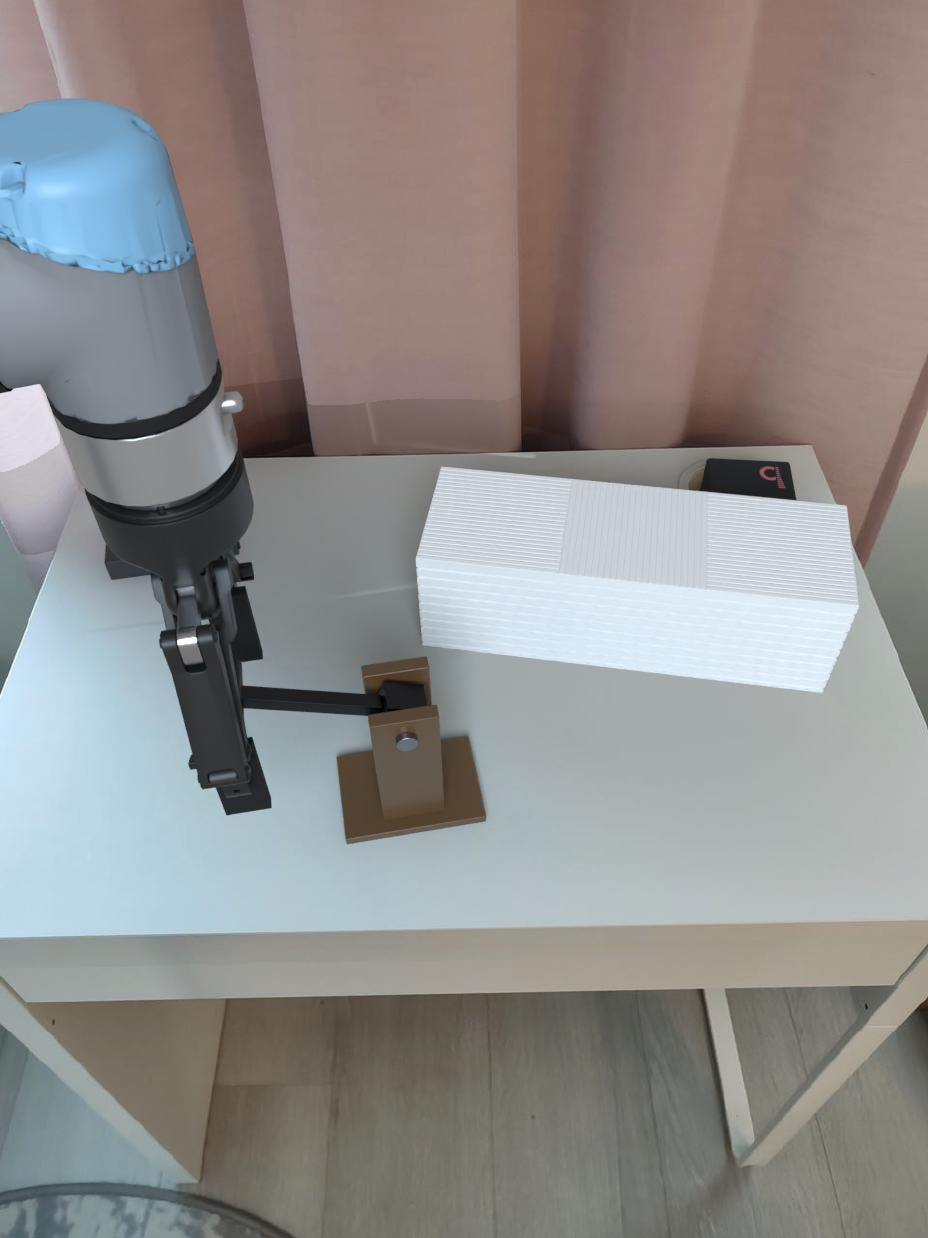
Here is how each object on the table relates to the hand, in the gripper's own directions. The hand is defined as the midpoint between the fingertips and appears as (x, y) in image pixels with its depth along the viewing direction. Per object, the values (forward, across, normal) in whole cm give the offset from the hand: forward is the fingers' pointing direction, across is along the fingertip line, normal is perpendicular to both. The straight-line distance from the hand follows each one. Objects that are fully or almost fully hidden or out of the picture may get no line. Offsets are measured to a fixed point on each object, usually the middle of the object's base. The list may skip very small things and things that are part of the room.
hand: (245, 727), depth 64 cm
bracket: (+11, 0, -10) cm, 15 cm away
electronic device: (+12, +21, -43) cm, 49 cm away
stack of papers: (+12, +13, -30) cm, 35 cm away
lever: (0, 0, -5) cm, 5 cm away
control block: (+11, +30, +8) cm, 33 cm away
